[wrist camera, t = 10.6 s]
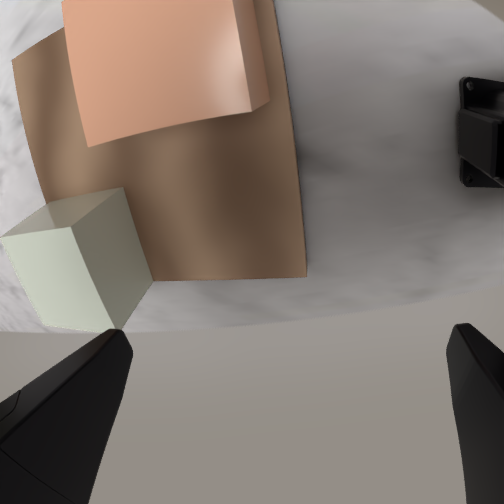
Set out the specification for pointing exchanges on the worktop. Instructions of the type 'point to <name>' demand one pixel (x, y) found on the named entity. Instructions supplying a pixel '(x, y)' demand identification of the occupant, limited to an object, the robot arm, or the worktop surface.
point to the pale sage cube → (81, 261)
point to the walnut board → (180, 171)
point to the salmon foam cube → (162, 63)
